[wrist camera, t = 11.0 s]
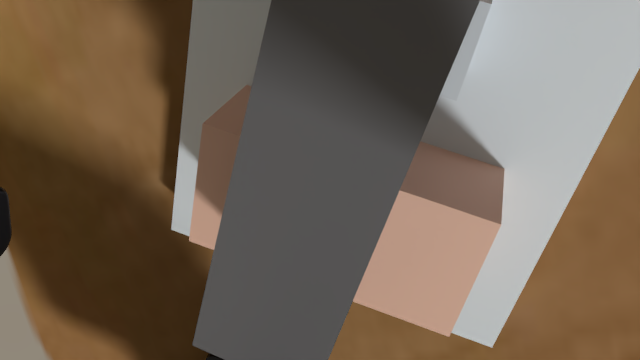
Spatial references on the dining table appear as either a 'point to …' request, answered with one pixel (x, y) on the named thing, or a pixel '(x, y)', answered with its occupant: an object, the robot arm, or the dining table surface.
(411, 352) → the dining table surface
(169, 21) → the dining table surface
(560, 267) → the dining table surface
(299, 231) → the frame bar
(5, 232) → the robot arm
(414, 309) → the display stand
